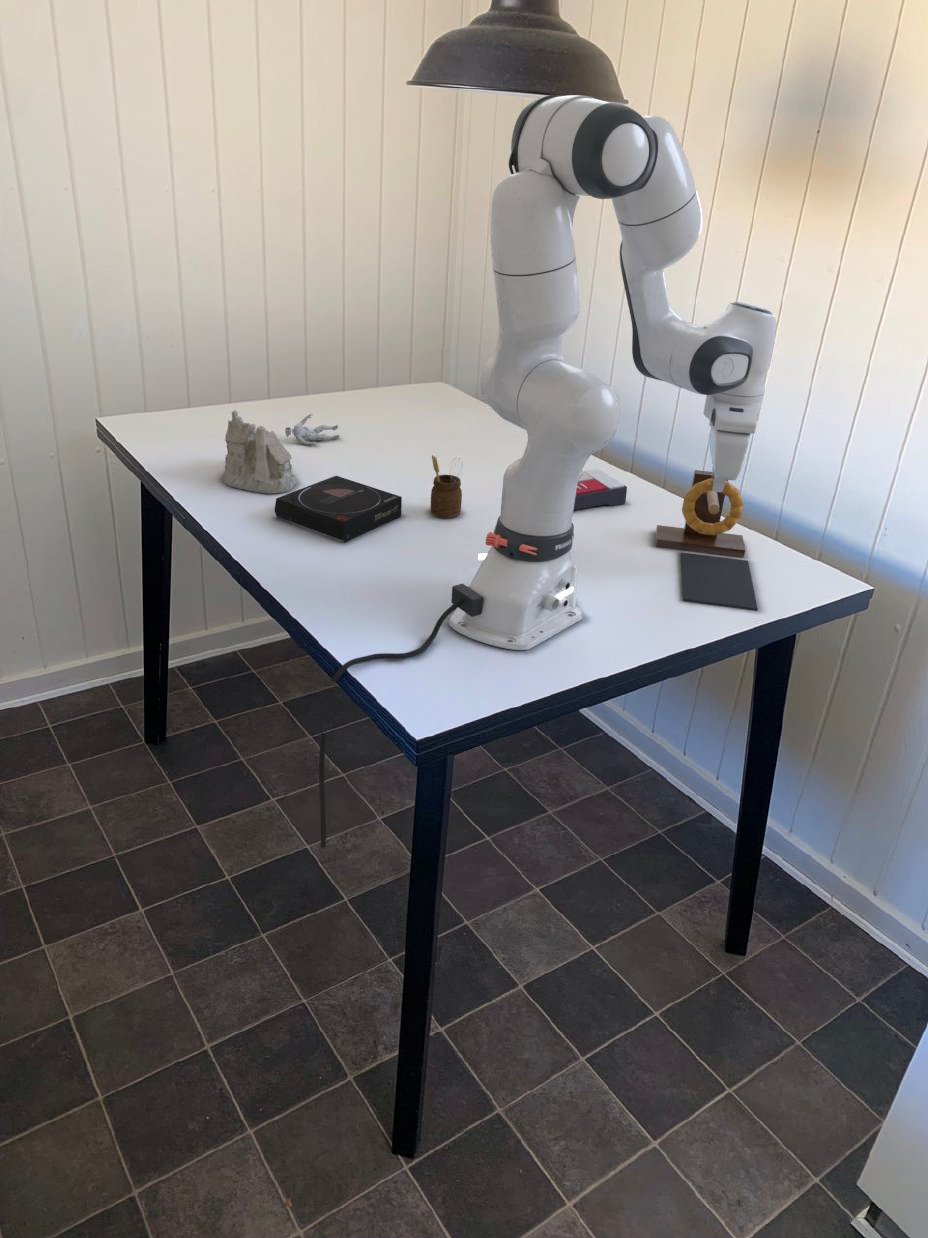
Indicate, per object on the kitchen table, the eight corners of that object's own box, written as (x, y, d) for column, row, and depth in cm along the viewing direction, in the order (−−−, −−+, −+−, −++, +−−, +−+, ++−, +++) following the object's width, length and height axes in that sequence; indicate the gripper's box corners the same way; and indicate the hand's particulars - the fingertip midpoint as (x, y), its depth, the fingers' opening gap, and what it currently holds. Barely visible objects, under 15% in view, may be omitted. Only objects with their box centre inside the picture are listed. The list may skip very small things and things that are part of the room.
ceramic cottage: (272, 497, 186) (270, 420, 180) (207, 482, 193) (202, 407, 186) (319, 479, 199) (318, 407, 192) (256, 465, 205) (254, 395, 199)
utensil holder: (466, 516, 184) (470, 456, 178) (438, 521, 181) (441, 460, 175) (450, 505, 188) (454, 446, 183) (423, 510, 185) (425, 451, 179)
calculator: (536, 476, 195) (599, 465, 201) (535, 495, 197) (597, 484, 203) (564, 495, 187) (628, 483, 192) (562, 515, 189) (626, 503, 194)
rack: (655, 532, 183) (667, 464, 176) (741, 542, 181) (755, 474, 174) (655, 567, 169) (667, 495, 162) (748, 578, 167) (764, 506, 160)
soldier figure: (342, 448, 217) (296, 438, 210) (331, 457, 221) (285, 448, 213) (337, 417, 220) (291, 407, 212) (326, 427, 223) (281, 417, 215)
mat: (757, 610, 156) (757, 608, 156) (683, 600, 158) (683, 598, 157) (747, 562, 173) (748, 560, 172) (680, 554, 174) (680, 552, 174)
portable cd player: (333, 493, 190) (333, 474, 188) (401, 516, 182) (401, 496, 180) (274, 517, 178) (273, 497, 176) (343, 542, 170) (343, 522, 168)
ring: (736, 535, 166) (747, 481, 161) (736, 539, 164) (748, 485, 160) (677, 528, 167) (687, 474, 162) (678, 532, 166) (688, 478, 161)
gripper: (709, 388, 164) (695, 465, 171) (716, 422, 147) (700, 506, 153) (746, 392, 164) (731, 469, 170) (758, 426, 146) (740, 511, 152)
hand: (716, 487), depth 162 cm, fingers closed on ring, 2 cm apart
